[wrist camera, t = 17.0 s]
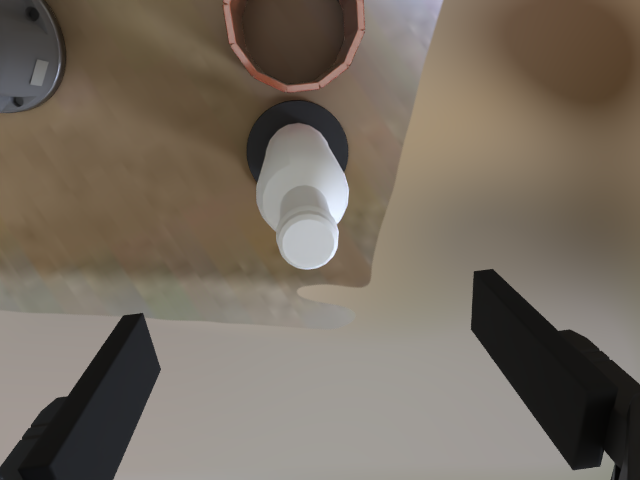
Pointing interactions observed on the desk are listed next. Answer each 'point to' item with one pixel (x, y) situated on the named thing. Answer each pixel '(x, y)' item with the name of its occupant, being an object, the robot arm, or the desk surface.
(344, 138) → the coaster
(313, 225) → the bottle
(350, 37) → the reddish brown pot
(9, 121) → the desk surface
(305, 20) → the desk surface
